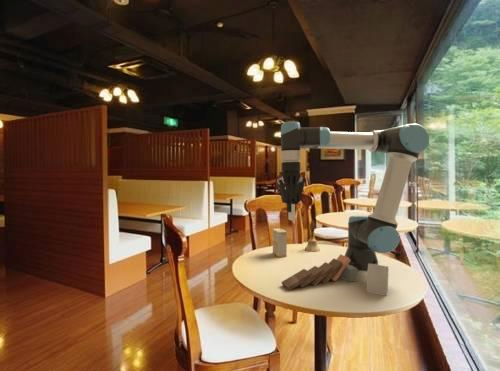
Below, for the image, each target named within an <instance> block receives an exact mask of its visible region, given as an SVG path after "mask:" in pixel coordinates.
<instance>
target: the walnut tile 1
mask: <svg viewBox="0 0 500 371" xmlns="http://www.w3.org/2000/svg"><path fill="white" fill-rule="evenodd" d="M311 277H313V276H312V273H311V272H309V271H308V269H305V268H303V269H301V270H299V271H298V272H296V273H295V274H293V275H291V276H289V277H288V278H286V279H284V280H282V281H281V286H283V287H284V288H285V289H286V290H288V291H292V290H293V289H295V288H297V287H299V286H298V285H300V284H301V283H303V282H305V281H306V280H308V279H310V278H311Z"/></svg>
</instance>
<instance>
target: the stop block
mask: <svg viewBox="0 0 500 371" xmlns="http://www.w3.org/2000/svg"><path fill="white" fill-rule="evenodd" d="M358 273H359V269H358V268H356V267H354V266H352V265H349V264H348V265H347V266H346V268H345V269H344V270H343V272H342V273H341V274H340V276H339V277H338V278H341V279H343V280H345V281H347V282H349V283H350V282H355V281H358Z"/></svg>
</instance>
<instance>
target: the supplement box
mask: <svg viewBox="0 0 500 371" xmlns="http://www.w3.org/2000/svg"><path fill="white" fill-rule="evenodd" d="M287 237H288V231H287V230H284V229H282V228H272V254H273V255H275V256H276V257H277V258H284V257H285V258H286V257H287V256H288V255H287V251H288V250H287V246H288V245H287V244H288V243H287V242H288V241H287V240H288V238H287Z"/></svg>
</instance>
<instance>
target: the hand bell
mask: <svg viewBox="0 0 500 371" xmlns="http://www.w3.org/2000/svg"><path fill="white" fill-rule="evenodd" d="M315 227H316V225H315V221H314V220H311V221H310V223H309V230H310V238H309V239H308V241H307V245H306V246H305V248H304V250H305V251H306V252H313V253H314V252H319V251H320V250H321V249H320V247H319V246H318V242H317V239H315V234H314V233H315V230H316V228H315Z"/></svg>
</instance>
